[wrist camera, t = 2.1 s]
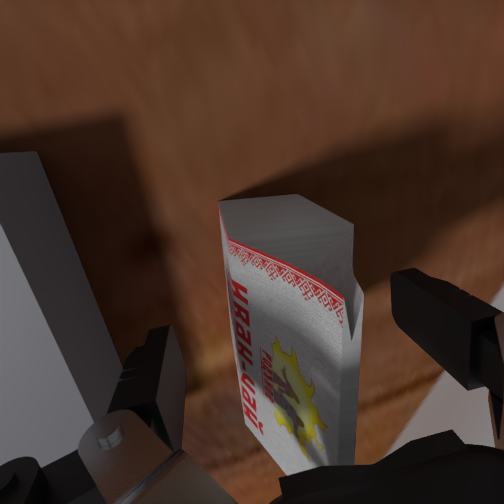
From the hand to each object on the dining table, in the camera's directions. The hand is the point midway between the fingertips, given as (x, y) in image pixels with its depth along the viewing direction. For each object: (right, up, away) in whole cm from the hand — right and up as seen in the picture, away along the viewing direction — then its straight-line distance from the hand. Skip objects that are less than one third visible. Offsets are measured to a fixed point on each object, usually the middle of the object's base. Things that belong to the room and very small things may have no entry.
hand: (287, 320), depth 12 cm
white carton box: (-1, +2, +5) cm, 5 cm away
